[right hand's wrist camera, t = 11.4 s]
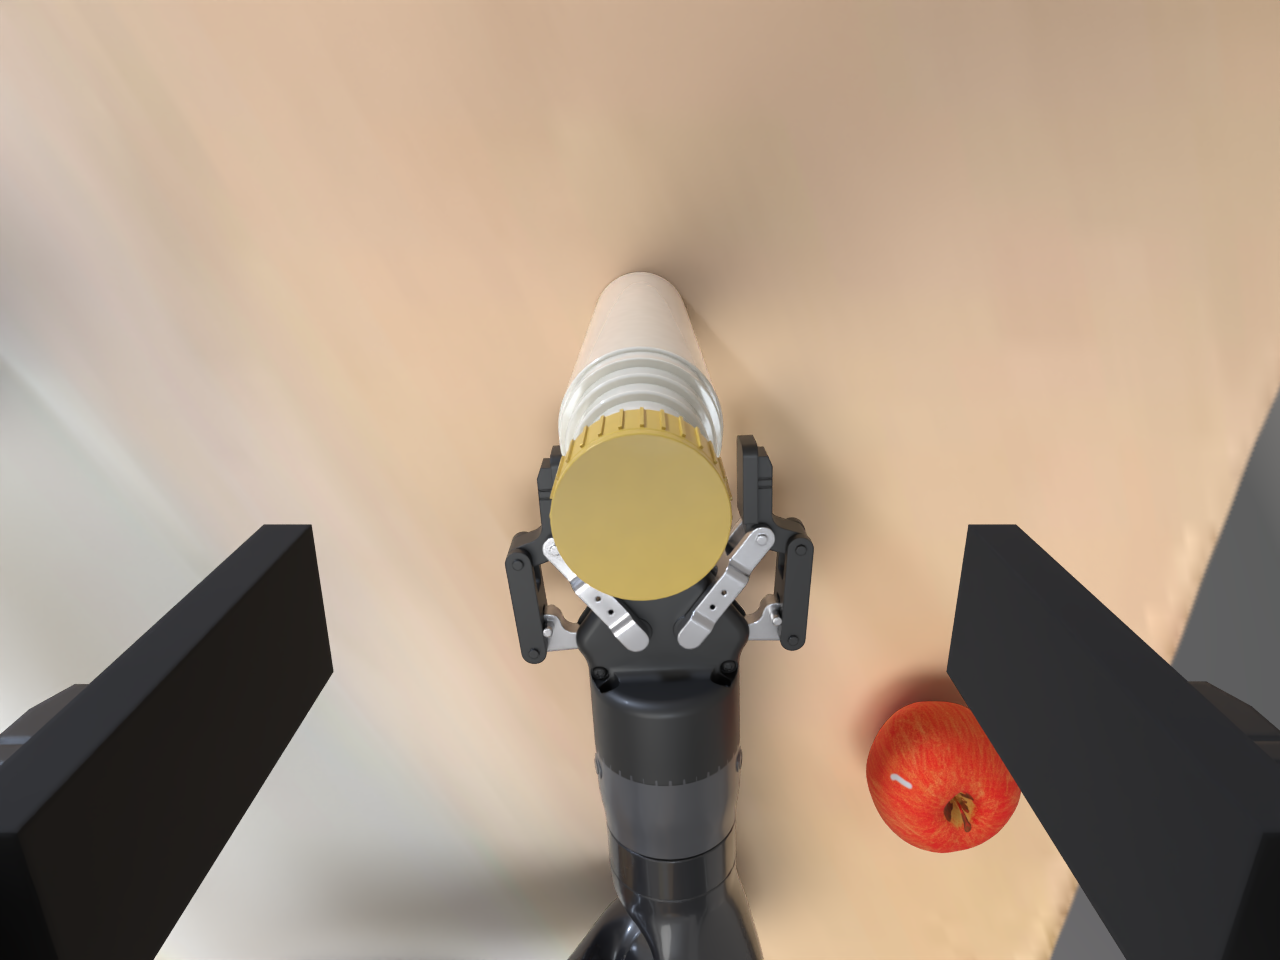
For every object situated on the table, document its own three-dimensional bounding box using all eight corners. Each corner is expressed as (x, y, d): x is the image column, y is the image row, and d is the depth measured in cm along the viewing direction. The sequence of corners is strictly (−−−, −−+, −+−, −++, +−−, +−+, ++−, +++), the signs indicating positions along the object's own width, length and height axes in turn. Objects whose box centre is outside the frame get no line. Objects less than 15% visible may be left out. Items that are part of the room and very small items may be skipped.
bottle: (679, 264, 40) (737, 388, 16) (692, 356, 41) (763, 594, 18) (586, 280, 40) (508, 425, 16) (603, 371, 42) (554, 625, 18)
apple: (827, 757, 50) (860, 860, 42) (901, 655, 47) (950, 745, 40) (936, 806, 51) (988, 914, 43) (1014, 708, 48) (1083, 806, 41)
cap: (713, 392, 18) (722, 416, 16) (735, 551, 19) (745, 589, 17) (540, 420, 18) (529, 446, 16) (574, 575, 19) (567, 615, 17)
